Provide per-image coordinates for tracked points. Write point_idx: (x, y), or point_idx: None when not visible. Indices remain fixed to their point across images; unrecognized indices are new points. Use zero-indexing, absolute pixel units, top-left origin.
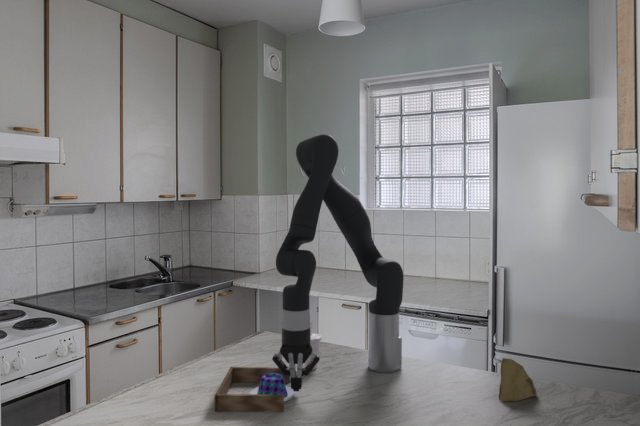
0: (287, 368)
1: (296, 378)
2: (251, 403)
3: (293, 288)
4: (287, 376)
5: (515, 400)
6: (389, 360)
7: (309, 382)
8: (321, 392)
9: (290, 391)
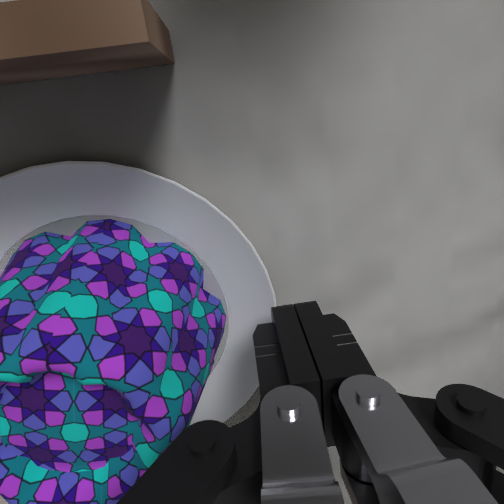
0: (221, 496)
1: (327, 443)
2: None
3: None
4: (140, 58)
5: None
6: None
7: (371, 28)
8: (464, 228)
9: (232, 263)
